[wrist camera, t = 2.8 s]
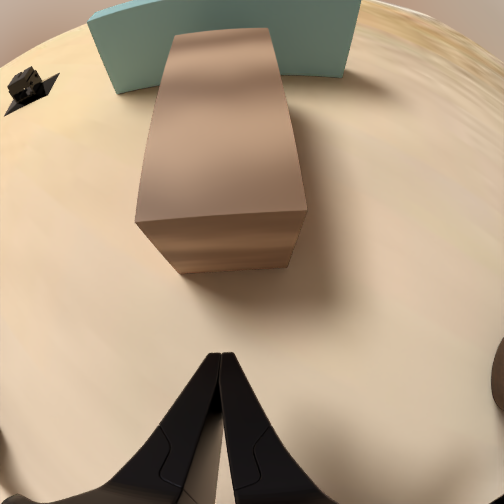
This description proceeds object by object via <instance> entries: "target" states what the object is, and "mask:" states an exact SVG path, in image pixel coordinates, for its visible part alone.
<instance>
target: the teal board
mask: <svg viewBox="0 0 504 504" xmlns="http://www.w3.org/2000/svg"><path fill="white" fill-rule="evenodd" d="M360 4H361V0H133V1H130V2H126V3H123V4H119V5H116V6H113V7H110V8H107V9H104V10H101V11H98V12H95V13H94V15H93V16H92V17H91V18H90V19H89V20H88V21H87V24H88V27H89V29H90V32H91V34H92V37H93V39H94V42H95V44H96V47H97V49H98V52H99V54H100V57H101V59H102V61H103V64H104V66H105V68H106V71H107V73H108V75H109V78H110V80H111V82H112V85H113V87H114V89H115V91H116V94H120V93H124V92H129V91H133V90H138V89H143V88H148V87H153V86H158V85H160V83H161V79H162V76H163V72H164V69H165V65H166V62H167V58H168V55H169V52H170V49H171V46H172V42H173V39H174V36H175V35H181V34H187V33H195V32H203V31H212V30H224V29H239V28H268V29H269V33H270V37H271V40H272V44H273V48H274V52H275V56H276V59H277V63H278V67H279V71H280V75H305V76H324V77H337V78H342V77H343V73H344V69H345V65H346V61H347V57H348V54H349V50H350V46H351V42H352V38H353V34H354V29H355V25H356V21H357V17H358V13H359V8H360Z"/></svg>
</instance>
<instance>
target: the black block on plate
mask: <svg viewBox="0 0 504 504" xmlns="http://www.w3.org/2000/svg"><path fill="white" fill-rule="evenodd" d="M59 74H60V73H58V74H56V75H54V76H51V77H49V78H47V79H45V80H43V81H42V80H41V78H40V76H39V75H38V73H37V71H36V70H34V69H33V68H32V66H31V67H29V68H27V69H26V70H24V72H23V73H22V72H20V73H18V74H17V75H15V76H14V78H13V79H12V81H11V82H10V84H9V85H8V89H9V93H10V95H11V96H12V97H13V99H14V100H13V101H12V103H11V105H10V106H9V108H8V110H7V112H6V113H5V115H4V116H6V115H8V114H10V113H12V112H14V111H16V110H18V109H19V108H21V107H23V106H25V105H28V104H30V103H32V102H34V101H36V100H38V99H40V98H43V97H45V96H47V95H48V94H49V92H50V90H51V88H52V86H53V85H54V83H55V81H56V79H57V77H58V75H59ZM24 88H25V89H24Z"/></svg>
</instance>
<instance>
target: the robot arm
mask: <svg viewBox="0 0 504 504" xmlns="http://www.w3.org/2000/svg"><path fill="white" fill-rule="evenodd" d="M159 425H160V426H157V428H156V429H155V430H154V432H153V433H152V435H151V436H150V437H149V438H148V440H147V441H146V442H145V444H144V445H143V446H142V447H141V448H140V449H139V450H138V452H137V453H136V454H135V455H134V456H133V457H132V458H131V459H130V460H129V461H128V462H127V463H126V464H125V465H124V466H123V467H122V468H121V469H120V470H119V471H118V472H117V473H116V474H115V475H114V476H113V477H112V478H111V479H110V480H109V481H108V482H107V483H105V484H104V485H102V486H101V487H99V488H97V489H94V490H91V491H88V492H85V493H82V494H79V495H76V496H73V497H69V498H66V499H62V500H59V501H55V502H51V503H38V502H34V501H32V500H30V499H28V498H26V497H24V496H22V495H20V494H16V495H13V496H11V497H8V498H7V499H5V500H4V501H3V502H2V503H1V504H215V497H216V488H217V479H218V470H219V461H220V453H221V444H222V435H223V427H224V431H225V439H226V446H227V453H228V460H229V466H230V473H231V479H232V485H233V490H234V497H235V504H339V503H337V502H336V501H334V500H333V499H331V498H329V497H328V496H327V495H326V494H325V493H324V492H322V491H321V490H320V489H319V488H318V487H317V486H316V485H315V483H314V482H313V481H312V480H311V479H310V478H309V477H308V475H307V474H306V473H305V472H304V471H303V470H302V468H301V467H300V466H299V465H298V464H297V462H296V461H295V460H294V459H293V457H292V456H291V455H290V453H289V452H288V451H287V449H286V448H285V447H284V445H283V444H282V442H281V440H280V439H279V437H278V435H277V434H276V432H275V430H274V428H273V427H272V426H271V423H270V421H269V419H268V418H267V416H266V414H265V412H264V410H263V408H262V406H261V405H260V403H259V401H258V399H257V397H256V395H255V393H254V391H253V389H252V387H251V385H250V384H249V382H248V380H247V378H246V376H245V374H244V372H243V370H242V368H241V366H240V364H239V362H238V360H237V358H236V356H235V354H234V353H233V352H223V353H222V354H221V353H209V354H208V355H207V356H206V358H205V359H204V360H203V362H202V363H201V365H200V366H199V368H198V369H197V371H196V372H195V374H194V375H193V376H192V378H191V379H190V381H189V382H188V384H187V385H186V387H185V388H184V389H183V391H182V392H181V394H180V395H179V397H178V398H177V399H176V401H175V402H174V404H173V405H172V407H171V408H170V409H169V411H168V412H167V414H166V415H165V416H164V418H163V419H162V421H161V422H160V424H159ZM489 504H504V494H503V495H501V496H500V497H498V498H497V499H495V500H494V501H492V502H491V503H489Z"/></svg>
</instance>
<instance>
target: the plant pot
mask: <svg viewBox="0 0 504 504" xmlns="http://www.w3.org/2000/svg"><path fill="white" fill-rule="evenodd" d="M492 393H493V397H494V400H495V402H496V404H497V405H498V406H499V407H500V408H501V409H502V410H503V411H504V338H503V339H502V341H501V343H500V345H499V347H498V350H497V352H496V355H495V359H494V363H493V368H492Z"/></svg>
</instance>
